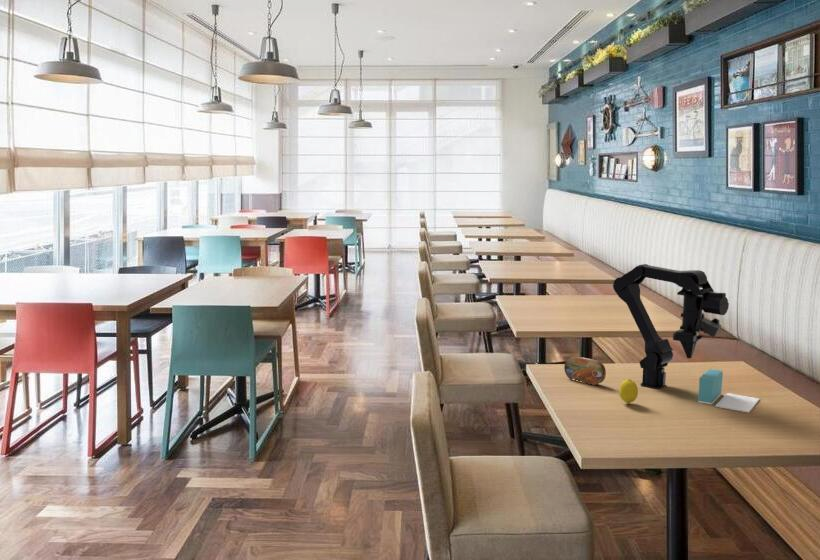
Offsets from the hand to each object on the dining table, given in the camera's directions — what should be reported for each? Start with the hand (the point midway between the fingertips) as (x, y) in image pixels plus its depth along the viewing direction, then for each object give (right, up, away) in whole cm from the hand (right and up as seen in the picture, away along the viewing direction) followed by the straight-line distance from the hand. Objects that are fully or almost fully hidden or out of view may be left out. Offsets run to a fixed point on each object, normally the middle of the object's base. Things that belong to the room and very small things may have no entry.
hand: (689, 358), depth 230 cm
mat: (+12, -13, -7) cm, 19 cm away
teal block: (+6, -13, -2) cm, 14 cm away
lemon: (-22, -14, -8) cm, 27 cm away
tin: (-30, -10, +15) cm, 35 cm away
